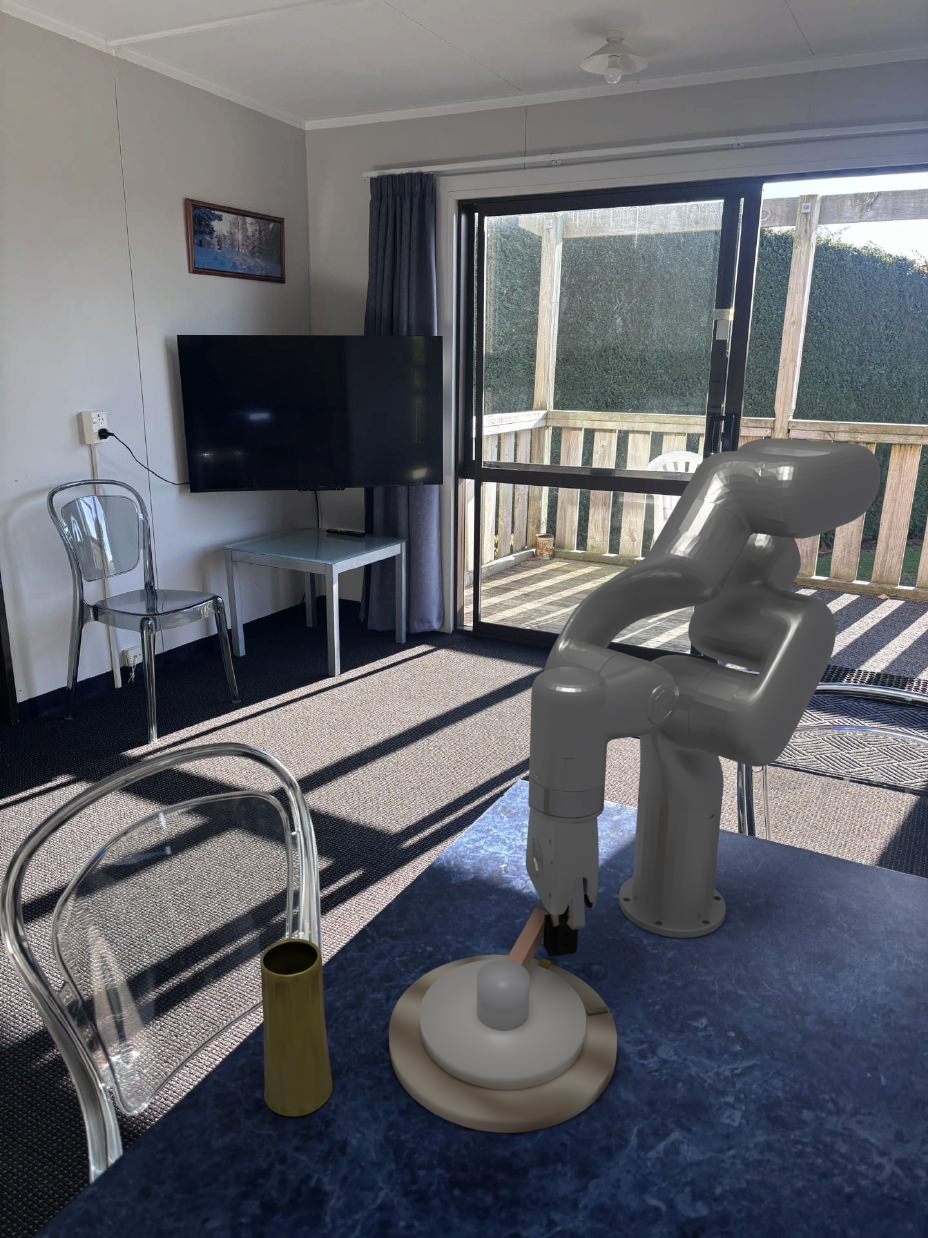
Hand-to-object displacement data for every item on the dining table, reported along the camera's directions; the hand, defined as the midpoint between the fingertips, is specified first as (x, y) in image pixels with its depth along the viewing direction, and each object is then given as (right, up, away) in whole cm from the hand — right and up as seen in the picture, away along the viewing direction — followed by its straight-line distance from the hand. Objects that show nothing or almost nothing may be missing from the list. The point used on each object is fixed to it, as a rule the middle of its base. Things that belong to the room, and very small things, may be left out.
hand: (560, 950), depth 95 cm
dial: (-5, -4, -4) cm, 8 cm away
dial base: (-6, -6, -7) cm, 11 cm away
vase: (-25, -8, -13) cm, 29 cm away
